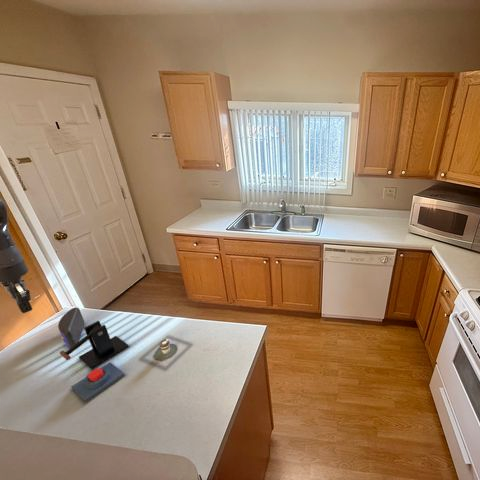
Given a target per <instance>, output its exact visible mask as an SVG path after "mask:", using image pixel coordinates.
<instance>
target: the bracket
mask: <svg viewBox="0 0 480 480" xmlns="http://www.w3.org/2000/svg"><path fill="white" fill-rule="evenodd" d="M95 325H98V326H99V328H97V329H95V330H93V331H91V332H89V330H90V329H91V328H93V327H94V326H95ZM83 330H84V332H85V334H86V336H87V335H88V334H89V333H90V335H91V338H89V339H88V341H89V344H90V346H91V349H90V350H88V351H86V352H84V353H83V354H81V355H79V356H78V359H79V361H81V362H82V363H83V364H84V365H86V367H88V368H89V369H90V370H91V371H93V370H95V369H97V368H98V367H99V366H101V365H102V364H104V363H106V362H107V361H108V360H111V359H113V357H115V356H117V355H118V354H120V353H122V352H123V351H125V350H126V349H128V348H129V347H130V346H129V344H127V343H126V342H125V341H124V340H123V339H121V338H119V337H118V336H117V335H115V336H113V337H110V334H109V331H108V329H107V326H106V325H105V324H103V325H102V324H101V321H99V320H97V321H95V322H92V323H91V324H89V325H87V326H84V327H83Z"/></svg>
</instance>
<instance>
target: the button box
mask: <svg viewBox="0 0 480 480" xmlns="http://www.w3.org/2000/svg"><path fill="white" fill-rule="evenodd" d="M99 368H100V369H102V370H103V373H104V375H103V377H102V378H100V379H99V380H97V381H94V382H92V381H90V379H89V377H88V375H89V373H88V374H87V375H86V376H85V377H84V378H83V379H81V380H79V381H77V382H76V383H74V384H73V385H71V386H70V387H71V389H72V390H73V391H74V393H75V394H76V395H77V396H79V398H81V400H82V401H83V402H84V403H88V402H89V401H91V400H92V399H94V397H96V396H98V395H99V394H101V393H103V391H105V390H107V389H108V388H109V387H111V386H112V385H114V384H115V383H116V382H118V381H119V380H121V379H122V378H124V377H125V373H124V372H123V371H122V370H120V369H119V368H118V367H117V366H115V365H114V364H113V363H112V362H108V363H105V365H103V366H101V367H99Z"/></svg>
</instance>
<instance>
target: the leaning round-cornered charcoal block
mask: <svg viewBox="0 0 480 480" xmlns="http://www.w3.org/2000/svg"><path fill="white" fill-rule="evenodd" d="M57 328H58V331H59V333H60V335H61V340H63V341H64V343H65V346H66V347H68V348H69V349H70V348H71V347H73V346H74V345H75V344H77V343H78V342H79V341H80V340H81V336H82V333H83V330H84V328H85V320H84V317H83V315H82V312H81V310H80V307H72V308H71V309H70V310H68V311H66V313H64V315H62V316H61V318H60V320H59V321H58V325H57Z"/></svg>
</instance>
